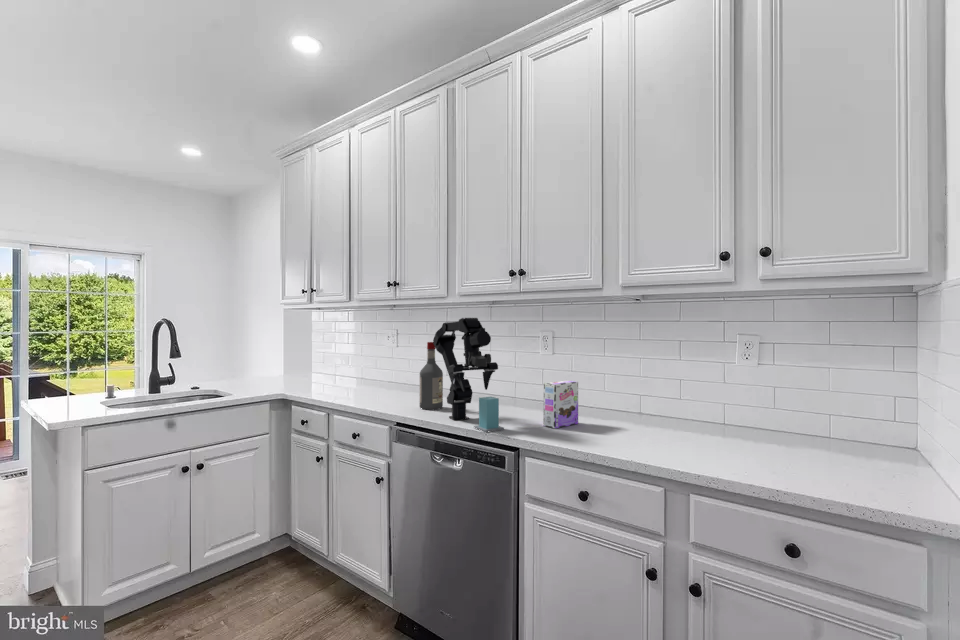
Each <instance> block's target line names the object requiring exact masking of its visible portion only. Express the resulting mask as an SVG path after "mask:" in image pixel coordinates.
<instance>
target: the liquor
mask: <svg viewBox="0 0 960 640" xmlns="http://www.w3.org/2000/svg"><path fill="white" fill-rule="evenodd" d="M426 344H427V345H426V349H427V360H426V364H424V365H423V367H422V368H421V370H420V371H419V408H420V409H421V408H422V409H421V410H424V409H430V410H429V411H438V410H439V409H442V407H443V406H444V404H443V403H444V402H443V401H444V400H443V398H444V392H443V391H444V389H443V388H444V386H443V385H444V383H443V382H444V378H443V377H444V376H443V375H444V372H443V370H442V369H441V368H440V366H439V365H438V364H437V361H436V348H435V346H434V344H433V341H427V342H426ZM437 409H438V410H437Z"/></svg>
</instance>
